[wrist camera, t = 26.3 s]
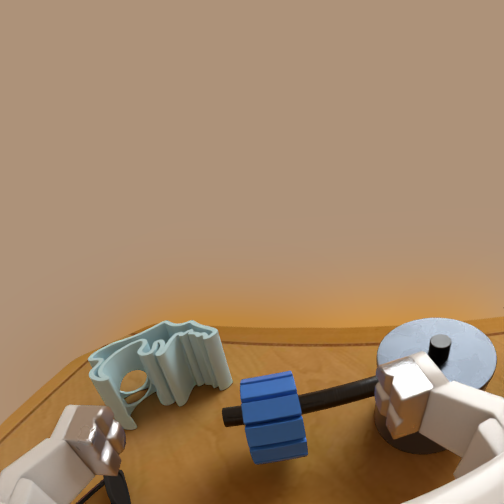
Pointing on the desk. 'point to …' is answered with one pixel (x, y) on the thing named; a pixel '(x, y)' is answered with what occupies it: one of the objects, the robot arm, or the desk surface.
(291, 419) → the gear wheel
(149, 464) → the desk surface
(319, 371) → the desk surface
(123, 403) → the squiggly pen holder
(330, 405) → the saucepan
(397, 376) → the robot arm
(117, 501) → the sunglasses
